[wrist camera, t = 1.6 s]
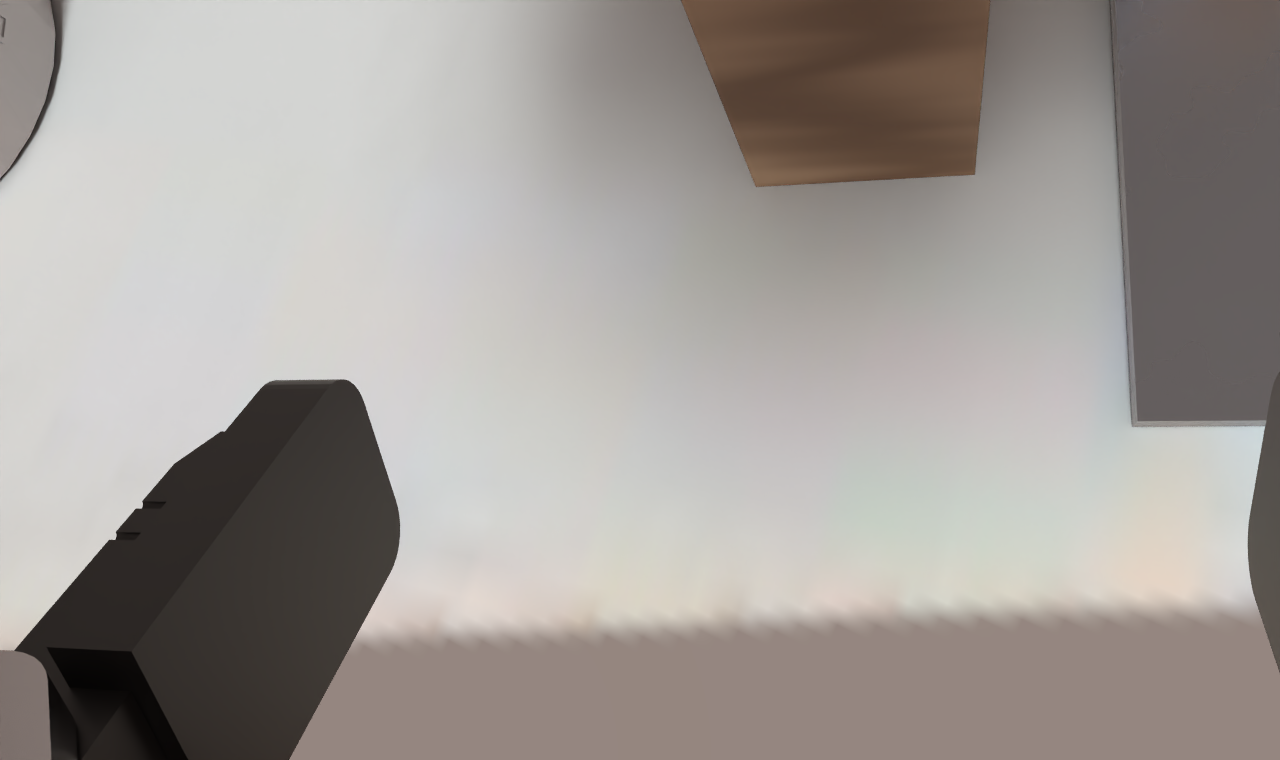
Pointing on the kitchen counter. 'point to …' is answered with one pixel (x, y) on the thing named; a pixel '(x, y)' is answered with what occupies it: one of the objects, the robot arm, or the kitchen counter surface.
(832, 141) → the link block
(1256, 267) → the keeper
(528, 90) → the kitchen counter surface
